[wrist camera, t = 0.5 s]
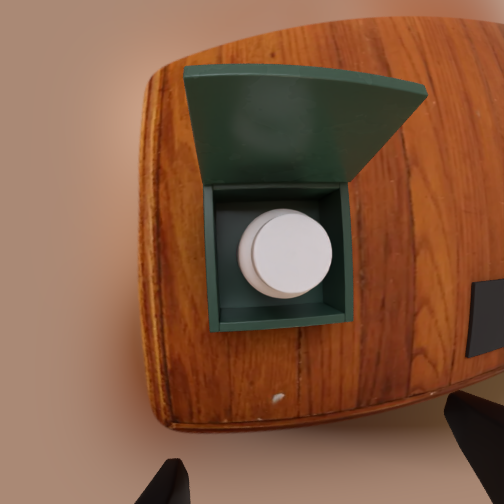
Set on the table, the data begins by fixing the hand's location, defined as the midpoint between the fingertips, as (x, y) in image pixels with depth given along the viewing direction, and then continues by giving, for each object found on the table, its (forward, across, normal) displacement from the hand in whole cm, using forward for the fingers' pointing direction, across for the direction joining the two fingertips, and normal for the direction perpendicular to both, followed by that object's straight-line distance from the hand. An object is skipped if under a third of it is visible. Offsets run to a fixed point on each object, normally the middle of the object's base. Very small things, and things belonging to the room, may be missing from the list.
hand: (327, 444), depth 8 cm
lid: (+8, -2, -9) cm, 12 cm away
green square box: (+18, -1, -2) cm, 18 cm away
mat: (+16, -29, +10) cm, 34 cm away
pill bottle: (+17, -1, -2) cm, 17 cm away
